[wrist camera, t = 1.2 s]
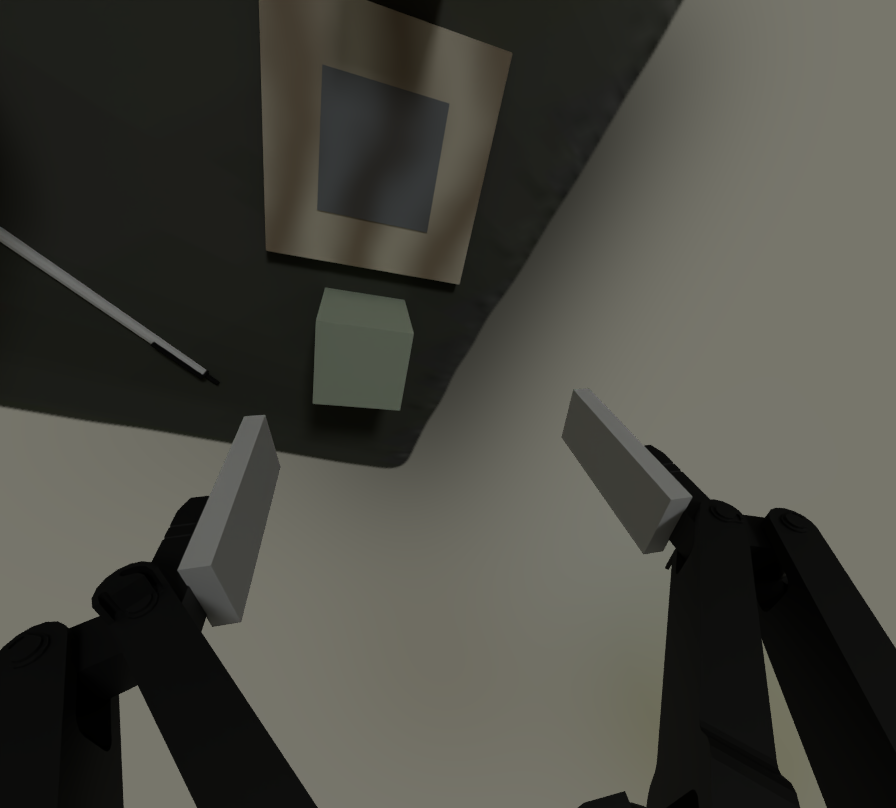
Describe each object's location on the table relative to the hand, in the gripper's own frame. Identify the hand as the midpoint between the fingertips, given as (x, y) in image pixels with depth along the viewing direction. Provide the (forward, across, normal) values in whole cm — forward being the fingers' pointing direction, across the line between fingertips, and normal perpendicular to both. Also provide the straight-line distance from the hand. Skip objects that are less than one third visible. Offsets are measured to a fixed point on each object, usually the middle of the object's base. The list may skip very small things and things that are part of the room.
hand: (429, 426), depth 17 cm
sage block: (+22, -3, -4) cm, 22 cm away
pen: (+22, -23, -1) cm, 32 cm away
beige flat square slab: (+22, 0, +10) cm, 24 cm away
